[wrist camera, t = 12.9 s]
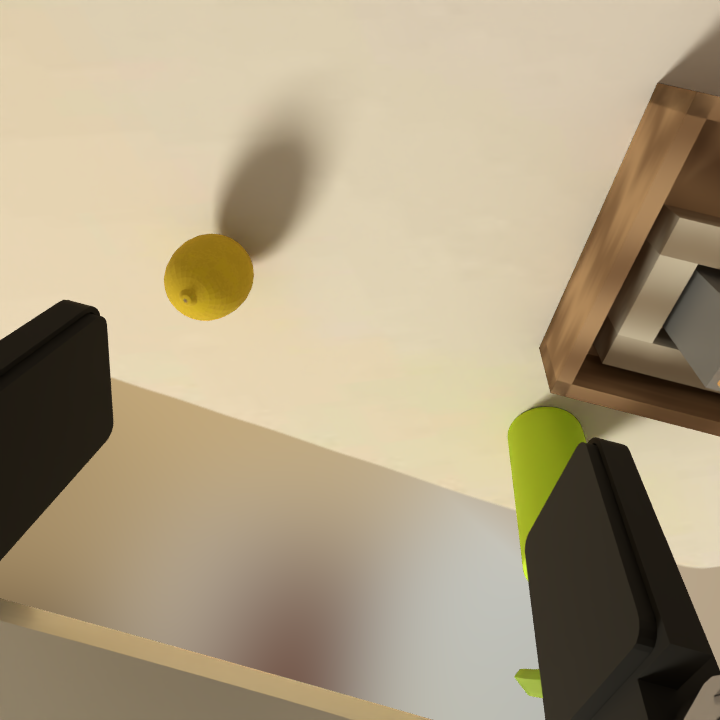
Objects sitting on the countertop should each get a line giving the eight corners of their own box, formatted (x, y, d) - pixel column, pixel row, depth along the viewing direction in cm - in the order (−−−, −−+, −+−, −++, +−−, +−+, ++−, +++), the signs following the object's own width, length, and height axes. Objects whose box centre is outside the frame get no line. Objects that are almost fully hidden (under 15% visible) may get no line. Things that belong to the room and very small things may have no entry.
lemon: (183, 237, 40) (126, 276, 33) (243, 208, 38) (196, 245, 31) (221, 300, 42) (175, 349, 35) (280, 276, 40) (243, 324, 34)
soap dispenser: (483, 426, 44) (498, 665, 27) (565, 396, 42) (637, 640, 25) (514, 475, 46) (544, 724, 30) (593, 449, 44) (677, 707, 27)
